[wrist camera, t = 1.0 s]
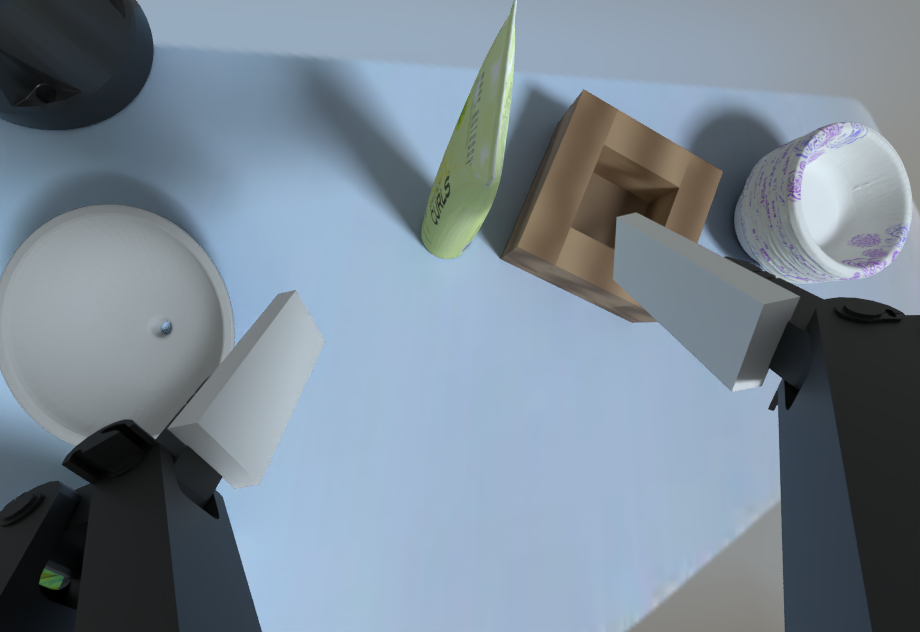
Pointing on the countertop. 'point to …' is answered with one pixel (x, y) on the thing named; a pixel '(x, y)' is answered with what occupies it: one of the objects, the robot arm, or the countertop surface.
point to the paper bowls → (826, 206)
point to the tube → (473, 154)
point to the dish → (110, 321)
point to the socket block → (605, 201)
